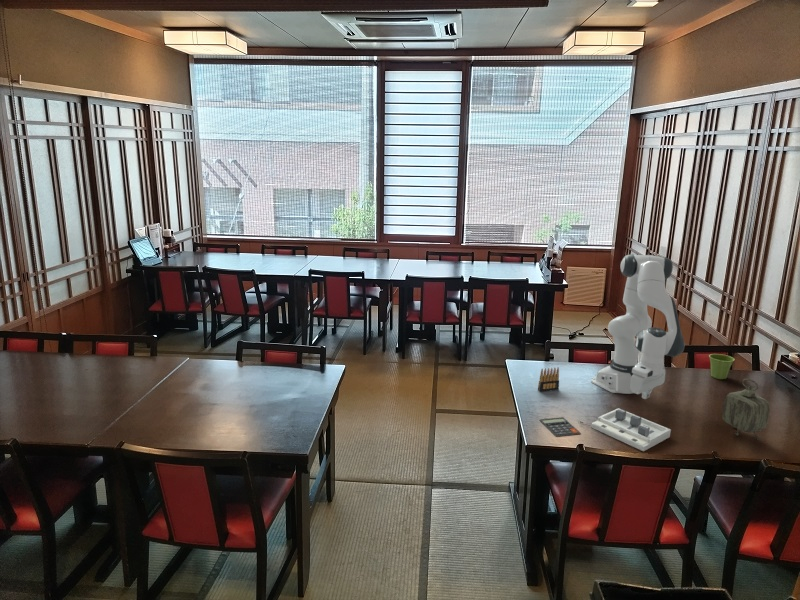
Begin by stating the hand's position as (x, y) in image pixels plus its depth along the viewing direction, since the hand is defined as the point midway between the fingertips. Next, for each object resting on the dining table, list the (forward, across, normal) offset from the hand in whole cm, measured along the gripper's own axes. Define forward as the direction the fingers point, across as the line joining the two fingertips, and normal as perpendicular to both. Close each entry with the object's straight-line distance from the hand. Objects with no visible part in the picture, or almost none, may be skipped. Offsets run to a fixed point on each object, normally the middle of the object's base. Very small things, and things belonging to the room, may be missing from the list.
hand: (645, 397), depth 221 cm
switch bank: (+16, +3, -2) cm, 17 cm away
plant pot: (+17, -93, -10) cm, 95 cm away
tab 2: (+14, 0, -3) cm, 14 cm away
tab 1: (+14, 0, -10) cm, 17 cm away
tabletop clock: (+16, -34, +25) cm, 45 cm away
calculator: (+17, +25, -22) cm, 37 cm away
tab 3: (+14, +5, +4) cm, 15 cm away
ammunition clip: (+18, -2, -50) cm, 54 cm away
